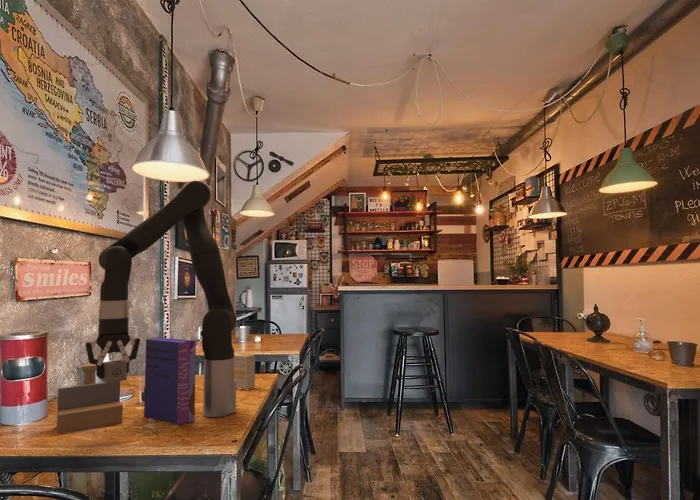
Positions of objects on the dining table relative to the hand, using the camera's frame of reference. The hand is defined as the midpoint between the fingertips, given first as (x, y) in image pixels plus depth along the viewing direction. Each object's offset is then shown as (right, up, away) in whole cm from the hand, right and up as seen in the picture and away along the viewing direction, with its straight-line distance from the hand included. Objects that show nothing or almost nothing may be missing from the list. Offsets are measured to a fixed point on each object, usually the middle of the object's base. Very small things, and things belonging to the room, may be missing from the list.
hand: (112, 376), depth 122 cm
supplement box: (+25, -19, +47) cm, 57 cm away
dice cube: (+1, -1, -1) cm, 2 cm away
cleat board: (-9, -16, +5) cm, 19 cm away
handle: (-18, -17, +18) cm, 31 cm away
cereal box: (+12, -16, +10) cm, 22 cm away
